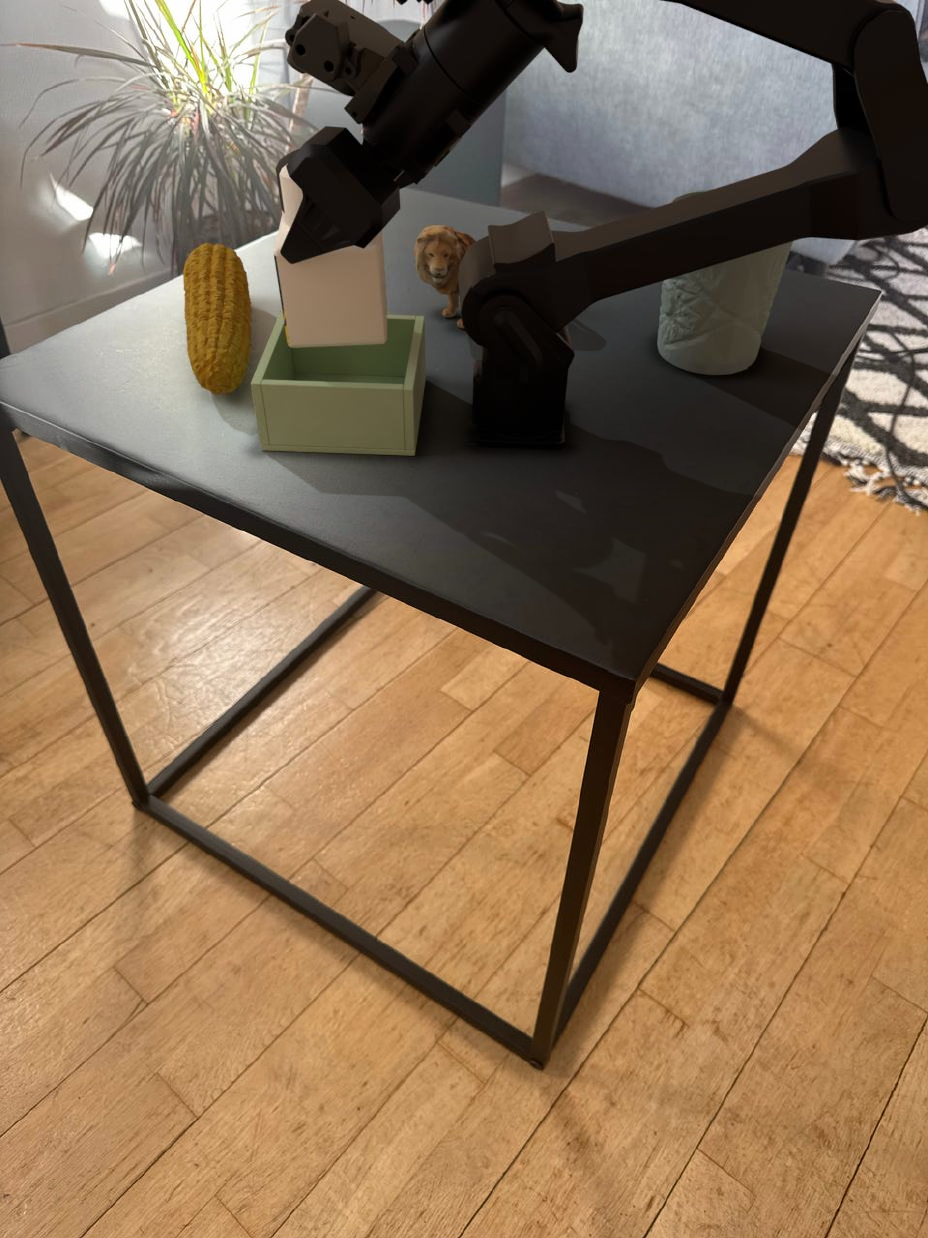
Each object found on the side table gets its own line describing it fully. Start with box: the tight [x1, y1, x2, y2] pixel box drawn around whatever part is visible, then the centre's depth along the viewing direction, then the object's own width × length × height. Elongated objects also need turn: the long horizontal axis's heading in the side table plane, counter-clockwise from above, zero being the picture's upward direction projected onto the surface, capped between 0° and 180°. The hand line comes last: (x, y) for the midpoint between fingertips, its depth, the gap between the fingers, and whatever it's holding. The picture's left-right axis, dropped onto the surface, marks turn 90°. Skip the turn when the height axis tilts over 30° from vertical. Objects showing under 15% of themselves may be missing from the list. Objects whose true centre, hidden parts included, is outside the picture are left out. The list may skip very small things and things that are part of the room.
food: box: [182, 241, 253, 396], centre depth 79 cm, size 21×6×6 cm, turn 13°
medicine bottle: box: [273, 148, 388, 348], centre depth 66 cm, size 7×7×12 cm
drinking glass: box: [657, 188, 794, 376], centre depth 78 cm, size 10×10×12 cm
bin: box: [250, 310, 427, 457], centre depth 72 cm, size 11×11×6 cm
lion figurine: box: [413, 224, 477, 330], centre depth 83 cm, size 15×5×9 cm, turn 116°
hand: (310, 233), depth 66 cm, fingers closed on medicine bottle, 8 cm apart
